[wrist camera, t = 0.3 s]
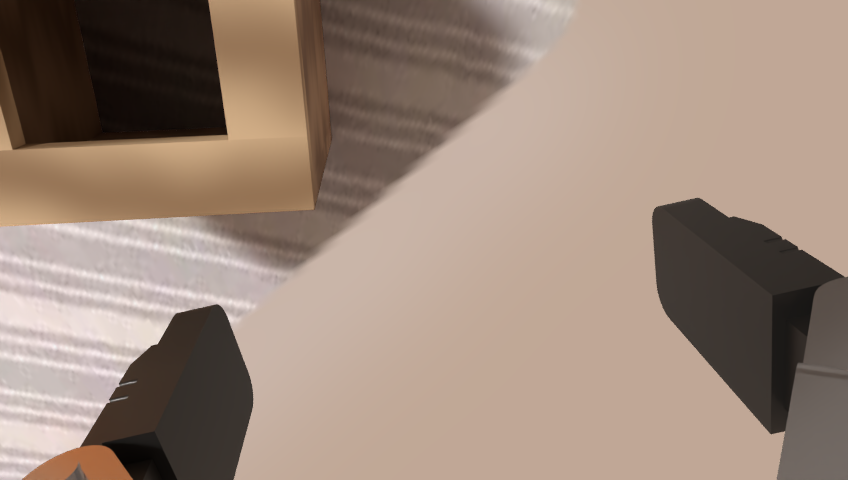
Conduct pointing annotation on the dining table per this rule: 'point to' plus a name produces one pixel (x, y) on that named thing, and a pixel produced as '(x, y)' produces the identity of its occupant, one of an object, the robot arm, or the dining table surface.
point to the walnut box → (162, 149)
